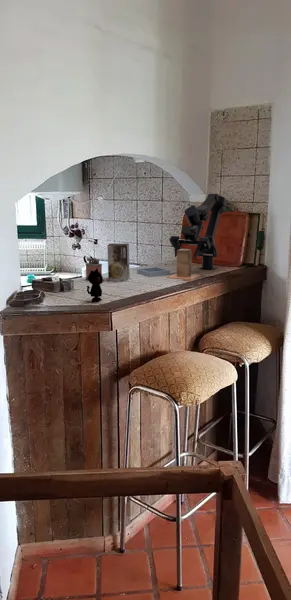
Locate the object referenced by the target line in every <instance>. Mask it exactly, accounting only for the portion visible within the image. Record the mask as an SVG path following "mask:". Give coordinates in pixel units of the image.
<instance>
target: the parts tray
mask: <svg viewBox="0 0 291 600" xmlns="http://www.w3.org/2000/svg"><path fill="white" fill-rule="evenodd" d="M136 274H137V275H142V276H145V277H146V276H147V277H149V278H152V277H158V276H159V277H160V276H170V275H171V270H170V269H166V268H162V267H159V266H153V267H152V266H151V267H142V268H137V269H136Z"/></svg>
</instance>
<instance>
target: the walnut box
mask: <svg viewBox="0 0 291 600" xmlns="http://www.w3.org/2000/svg"><path fill="white" fill-rule="evenodd" d="M192 252H193V251H192V249H191V248H181V249H179V250H177V256H176V273H177V276H179V277H189V276H191V274H192V259H193V256H192Z"/></svg>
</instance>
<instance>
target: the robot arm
mask: <svg viewBox="0 0 291 600" xmlns="http://www.w3.org/2000/svg"><path fill="white" fill-rule="evenodd" d="M227 206H228V200H227V198H225V197H224V196H222V195H220V194H218V193H208V194H207V196H206V198H205V200H204V201H202V204H201V205H199V206H196V204H195V205H190V207H187V208H186V209H185V210H184V215H185V218H186V220H187V223H188V224H190V225H182V227H181V232H180V233H181V234H182V237H183V238H180V236H179V235H171V236H170V237H169V242H170V244H171V246H172V247H173V249H174V257H175V258H177V250H179V249H182V248H181V247H182V245H189V246H196V248H195V251H194V254H193V256H192V259H196V258H197V257H201V266H200V267H199V269H200V270H214V269H215V268H216V266H214V258H218V249H217V247H216V241H215V236H216V233H217V229H218V225H219V221H220V217H221V215H222V214H223V213H224V212H225V210H226V207H227ZM210 211H211V213H210ZM208 219H209V220H208ZM207 221H208V223H207V227H206V231H205V234H204V236H201V232H202V230H204V222H207Z"/></svg>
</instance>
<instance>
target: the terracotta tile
mask: <svg viewBox="0 0 291 600" xmlns="http://www.w3.org/2000/svg"><path fill="white" fill-rule="evenodd" d="M201 277H202V274H193V273H191V276H189V277H179V276H177V272H176V273H174V274H170V275H167V276H166V279H172V280H173V279H174V280H180V281H184V282H193V281H195V280H197V279H199V278H201Z"/></svg>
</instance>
